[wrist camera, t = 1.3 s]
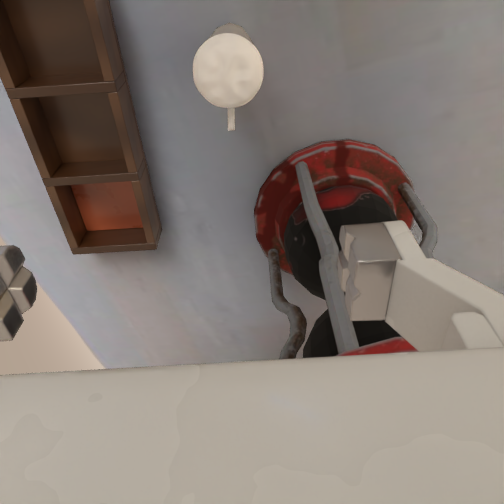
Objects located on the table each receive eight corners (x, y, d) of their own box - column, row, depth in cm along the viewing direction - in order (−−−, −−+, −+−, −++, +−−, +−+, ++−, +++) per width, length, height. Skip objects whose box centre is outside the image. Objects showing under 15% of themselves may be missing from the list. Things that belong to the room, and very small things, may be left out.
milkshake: (206, 86, 35) (196, 132, 27) (198, 14, 32) (185, 42, 24) (260, 84, 35) (265, 128, 27) (258, 11, 32) (264, 38, 24)
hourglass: (375, 104, 36) (538, 311, 17) (432, 231, 45) (583, 469, 25) (223, 192, 41) (207, 432, 22) (299, 291, 50) (338, 530, 30)
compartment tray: (-19, -36, 30) (-45, -33, 27) (98, -45, 30) (83, -42, 27) (83, 234, 44) (72, 254, 41) (162, 229, 44) (156, 249, 41)
